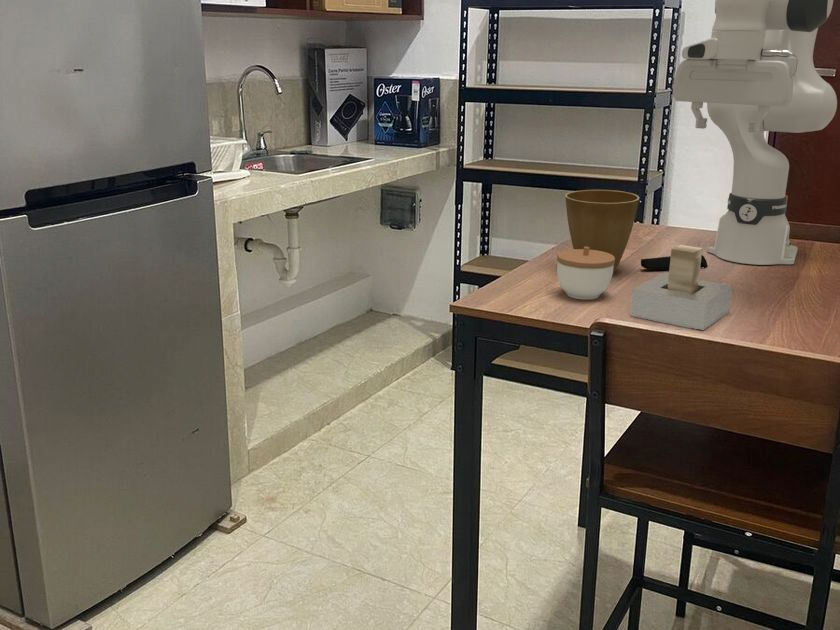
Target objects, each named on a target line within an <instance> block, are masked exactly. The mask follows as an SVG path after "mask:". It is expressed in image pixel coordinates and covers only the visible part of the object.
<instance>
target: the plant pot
mask: <svg viewBox="0 0 840 630" xmlns="http://www.w3.org/2000/svg"><path fill="white" fill-rule="evenodd" d="M564 196H565V197H564V198H565V208H566V209H565V210H566V216H567V223H568V231H569V235H570V240H571V244H572V249H584V247H589V250H597V251H603V252H606V253H609V254H611V255H613V256H614V257H615V263H614V268H613V274H614V273H615V272H616V271H617V268H618V266H620V265H619V264H620V262H621V260H622V258H623V255H624V252H625V251H626V249H627V245H628V242H629V241H630V240H629V239H630V236H631V234H632V229H633V226H634V223H635V218H636V216H637V211H638V206H639V201H640V196H639V195H637V194H635V193H632V192H628V191H627V192H626V191H621V190H611V189H584V190H583V189H582V190H576V191H570V192H567V193H566V194H565V195H564Z"/></svg>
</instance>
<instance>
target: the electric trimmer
mask: <svg viewBox="0 0 840 630" xmlns="http://www.w3.org/2000/svg"><path fill="white" fill-rule="evenodd" d="M670 258H671V255H670V256H659V257H651V258H641V259H640V265H641V267H642V268H644V269H646V270H656V271H657V270H661V271H664V270H665V271H669V268H670ZM708 265H709V264H708V262H707V260H706V258H705V256H704V255H703V254H702V256H701V265H700V268H702V267H704V268H703V269H705V268H707V267H708Z"/></svg>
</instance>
